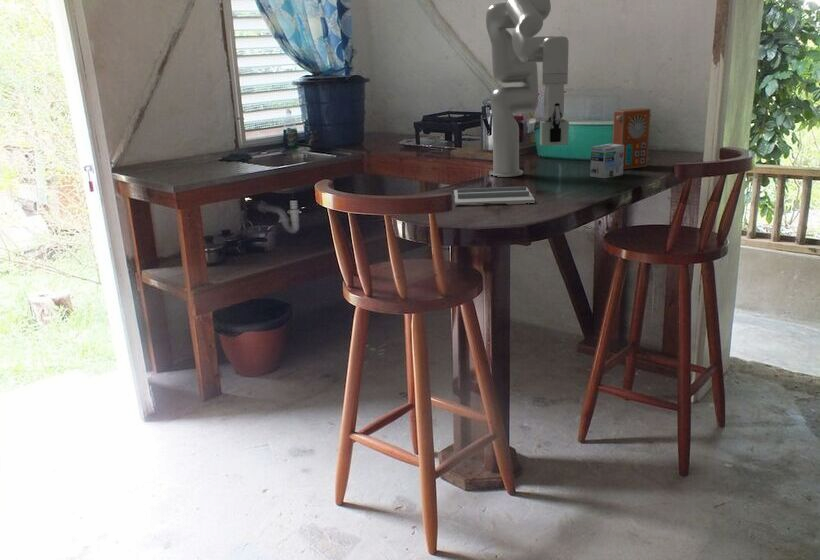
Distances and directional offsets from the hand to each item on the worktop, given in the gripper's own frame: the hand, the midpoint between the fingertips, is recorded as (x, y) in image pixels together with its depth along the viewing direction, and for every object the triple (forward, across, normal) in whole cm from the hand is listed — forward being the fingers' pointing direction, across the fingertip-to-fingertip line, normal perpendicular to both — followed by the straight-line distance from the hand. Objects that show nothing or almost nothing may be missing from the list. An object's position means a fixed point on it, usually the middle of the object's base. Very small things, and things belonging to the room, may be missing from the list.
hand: (553, 139), depth 215 cm
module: (+1, 0, 0) cm, 1 cm away
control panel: (+18, -47, +36) cm, 62 cm away
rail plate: (+17, +2, -19) cm, 26 cm away
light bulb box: (+18, -31, +24) cm, 43 cm away
